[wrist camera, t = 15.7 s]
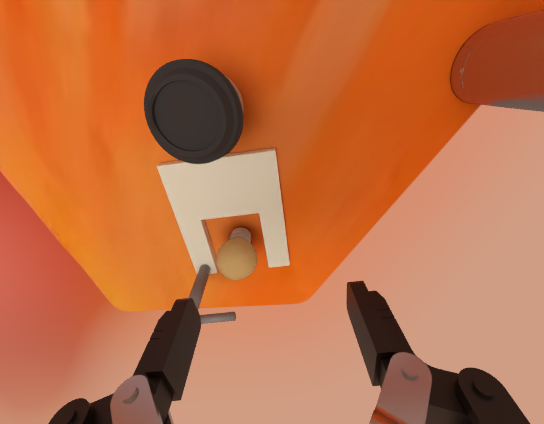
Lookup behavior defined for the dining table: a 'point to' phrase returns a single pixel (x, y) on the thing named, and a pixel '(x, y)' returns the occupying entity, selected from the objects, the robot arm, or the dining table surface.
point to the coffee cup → (193, 111)
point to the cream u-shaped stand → (225, 208)
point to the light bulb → (237, 255)
